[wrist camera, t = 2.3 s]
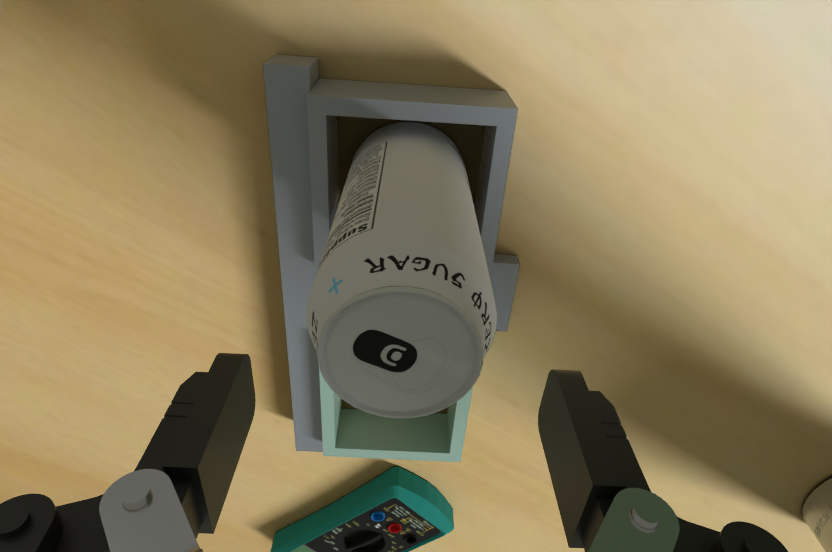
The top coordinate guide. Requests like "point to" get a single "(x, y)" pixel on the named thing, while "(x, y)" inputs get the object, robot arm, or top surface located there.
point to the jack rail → (312, 220)
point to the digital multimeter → (373, 518)
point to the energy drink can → (403, 279)
